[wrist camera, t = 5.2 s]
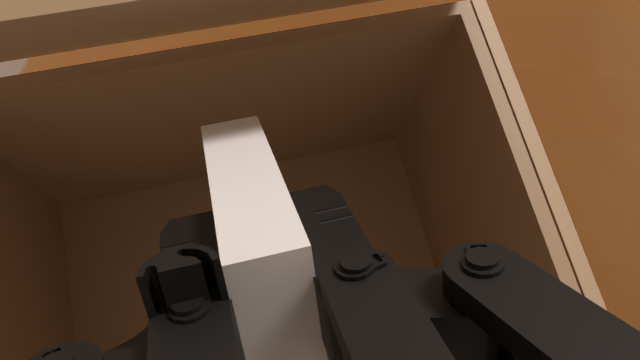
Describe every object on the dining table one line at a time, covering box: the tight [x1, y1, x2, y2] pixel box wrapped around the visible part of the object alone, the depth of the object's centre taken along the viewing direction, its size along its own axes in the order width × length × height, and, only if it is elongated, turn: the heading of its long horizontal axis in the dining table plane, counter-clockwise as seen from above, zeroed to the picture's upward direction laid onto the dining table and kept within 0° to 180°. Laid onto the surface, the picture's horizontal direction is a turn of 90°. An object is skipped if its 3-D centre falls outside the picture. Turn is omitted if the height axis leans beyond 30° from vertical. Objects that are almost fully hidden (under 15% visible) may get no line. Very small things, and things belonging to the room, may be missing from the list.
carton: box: [0, 0, 607, 360], centre depth 26 cm, size 23×21×14 cm
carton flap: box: [0, 0, 381, 62], centre depth 17 cm, size 22×11×1 cm
